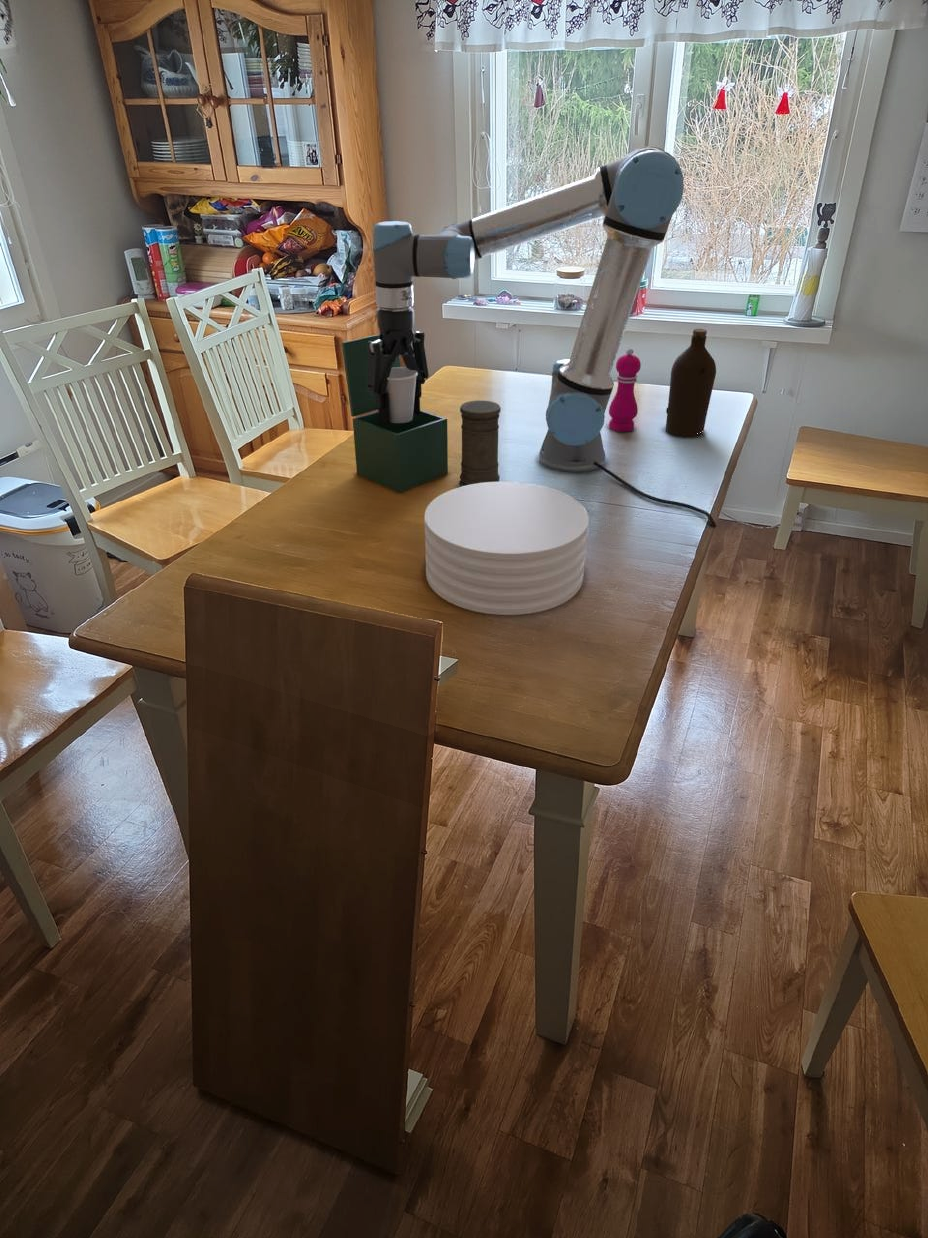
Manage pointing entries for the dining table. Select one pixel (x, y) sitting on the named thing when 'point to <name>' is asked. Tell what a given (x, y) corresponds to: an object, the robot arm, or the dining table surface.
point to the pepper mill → (625, 393)
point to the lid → (360, 374)
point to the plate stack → (505, 547)
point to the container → (479, 442)
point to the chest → (401, 450)
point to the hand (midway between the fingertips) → (399, 417)
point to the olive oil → (690, 389)
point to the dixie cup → (401, 394)
